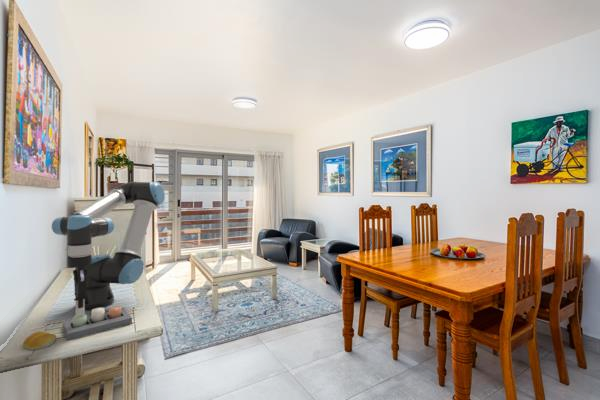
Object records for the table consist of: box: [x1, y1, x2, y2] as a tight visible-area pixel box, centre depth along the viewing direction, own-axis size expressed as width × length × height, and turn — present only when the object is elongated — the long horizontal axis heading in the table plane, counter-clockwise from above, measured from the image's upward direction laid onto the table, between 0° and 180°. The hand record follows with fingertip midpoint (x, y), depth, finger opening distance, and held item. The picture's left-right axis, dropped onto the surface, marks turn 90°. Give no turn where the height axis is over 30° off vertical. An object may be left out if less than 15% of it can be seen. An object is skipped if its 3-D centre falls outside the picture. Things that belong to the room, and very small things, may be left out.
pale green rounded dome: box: [72, 313, 88, 328], centre depth 117 cm, size 4×4×4 cm
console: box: [62, 307, 133, 341], centre depth 121 cm, size 14×21×2 cm, turn 134°
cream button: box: [90, 307, 106, 322], centre depth 121 cm, size 4×4×4 cm
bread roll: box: [22, 330, 57, 351], centre depth 106 cm, size 8×9×4 cm
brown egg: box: [108, 306, 122, 319], centre depth 125 cm, size 4×4×4 cm
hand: (80, 315), depth 117 cm, fingers closed
